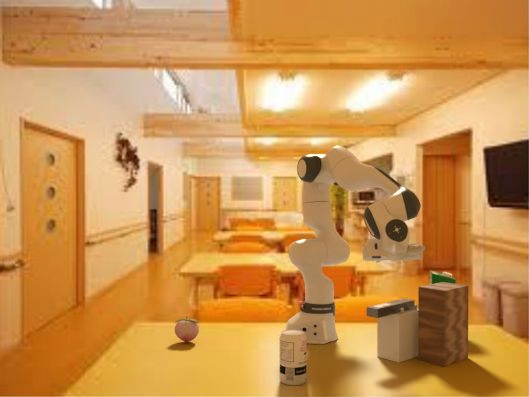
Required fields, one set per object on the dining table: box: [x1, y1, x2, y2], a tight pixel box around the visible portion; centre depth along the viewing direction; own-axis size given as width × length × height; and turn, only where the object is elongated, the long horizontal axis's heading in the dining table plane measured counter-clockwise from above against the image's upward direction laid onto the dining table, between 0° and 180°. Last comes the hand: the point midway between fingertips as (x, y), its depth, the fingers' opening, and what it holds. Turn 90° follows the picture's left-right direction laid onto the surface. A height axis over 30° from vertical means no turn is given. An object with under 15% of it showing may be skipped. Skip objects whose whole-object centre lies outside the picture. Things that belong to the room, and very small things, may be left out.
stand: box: [417, 282, 469, 368], centre depth 198 cm, size 15×10×25 cm, turn 131°
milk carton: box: [429, 270, 457, 285], centre depth 232 cm, size 9×9×25 cm
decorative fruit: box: [174, 316, 200, 343], centre depth 219 cm, size 9×8×10 cm
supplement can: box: [279, 329, 308, 386], centre depth 175 cm, size 8×8×15 cm
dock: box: [376, 304, 418, 363], centre depth 202 cm, size 14×9×18 cm, turn 131°
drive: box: [366, 297, 416, 319], centre depth 199 cm, size 22×4×3 cm, turn 133°
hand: (391, 259), depth 205 cm, fingers open, 8 cm apart
